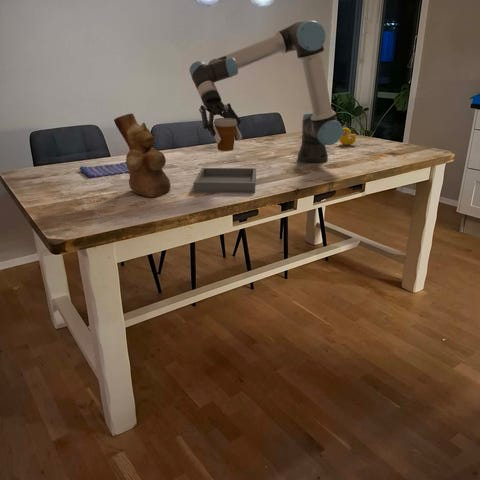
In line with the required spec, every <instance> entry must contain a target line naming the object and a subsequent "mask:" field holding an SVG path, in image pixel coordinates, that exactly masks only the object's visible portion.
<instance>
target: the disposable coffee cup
mask: <svg viewBox="0 0 480 480" xmlns="http://www.w3.org/2000/svg"><path fill="white" fill-rule="evenodd" d="M236 125H237V121H236V119H233V118H224V117H219V118H214V120H213V126H215V127H216V129H217V131H218V133H219V136H220V138H221V140H220V142H219V144H217V143H216V146H217V150H218V151H220V152H232V151H234V147H235V140H236V139H235V138H236V135H235V131H236Z"/></svg>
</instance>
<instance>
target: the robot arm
mask: <svg viewBox="0 0 480 480" xmlns="http://www.w3.org/2000/svg"><path fill="white" fill-rule="evenodd" d="M325 41H326V30H325V28H324V27H323V25H322V24H321V23H319V22H318V21H315V20H312V19H311V20H310V19H309V20H303V21H298V22H295V23H293V24H291V25H289V26H287V27H284V28H283V29H281V30H279V31H276V32H275V34H274V35H272V36H269V37H268V38H265V39H263V40H260V41H258V42H256V43H253V44H251V45H248V46H245V47H243V48H241V49H238V50H235V51H232V52H230V53H228V54H225V55H223V56H220V57H218V58H213V59H211V60H210V61H209V62H208V63H207V64H206V63H205V62H204V61H201V60H197V61H195V62H193V63H192V64H191V65H190V67H189V70H188V71H189V74H190V76H191V80H192V82H193V84H194V86H195V88H196V90H197V93H198V95H199V97H200V99H201V102H202V104H203V105H200V107H199V110H198V111H199V113H200V115H201V121H202V126H203V129H204V130H207V131H208V132H210V134H211V136H212V137H214V140H215V143H216V145H217V144H219V142H220V140H221V138H220V136H219V133H218V131H217V129H216V127H215V125H214V121H215V116H220V118H233V119H236V121H237V125H236V131H235V138H236V141H238V142H240V141H241V140H242V138H243V135H242V133H241V128H240V123H241V122H242V120H241V119H240V118H239V116H238V114H237V113H236V112H235V111H234V110H233V109H234V108H232V105H231V103H229V102H228V103H227V104H224V103H223V101H222V97H221V95H220V93H219V91H218V89H217V86H216V85H215V83H217V82H219V81H222V80H226V79H229V78H233V77H235V76H237V75H238V74H239V70H240V69H242V68H246V67H248V66H250V65H253V64H255V63H258V62H260V61H262V60H266V59H268V58H271V57H273V56H275V55H277V54H280V53H281V54H286V53H289V52H294V51H296V55H297V56H296V57H297V58H298V59H299V60H300V61H301V62H302V67H303V72H304V77H305V81H306V86H307V92H308V96H309V101H310V105H311V110H312V113H304V114H303V115H302V125H301V128H302V130H301V145H300V148H299V151H298V153H297V161H299V162H303V163H312V164H313V163H316V164H319V163H324V162H328V158H329V157H328V151H327V147H326V146H332V145H334V144H336V143H337V142H339V141H340V137H341V136H342V132H343V129H342V128H343V126H342V123H340V121H339V120H338V117H337V113H336V111H334V110H333V109H332V104H331V100H330V94H329V89H328V83H327V78H326V72H325V68H324V62H323V57H322V56H323V54H324V52H325V47H324V44H325ZM207 112H208V115H209V116H207Z"/></svg>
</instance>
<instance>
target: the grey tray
mask: <svg viewBox="0 0 480 480" xmlns="http://www.w3.org/2000/svg"><path fill="white" fill-rule="evenodd" d="M256 183H257V168H255V167H201V168H200V170H199V173H198V174H197V176H196V178H195V179H194V181H193V189H194V190H193V191H194V193H210V194H211V193H212V194H213V193H215V194H216V193H217V194H218V193H220V194H221V193H225V194H226V193H227V194H231V193H233V194H234V193H235V194H240V193H241V194H246V193H247V194H255V193H256Z"/></svg>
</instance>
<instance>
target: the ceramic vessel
mask: <svg viewBox="0 0 480 480" xmlns="http://www.w3.org/2000/svg"><path fill="white" fill-rule="evenodd" d="M113 122H114V125H115V126H116V129H118V131H119V133H120V135H121V137H123V139H124V141H125V143H126V145H127V146H128V149H129V151H128V153H127V154H126V158H125V162H126V165H127V168H128V170H129V173H128V174H129V180H128V185H129V188H130V189H131V190H132V191H133V192H134V194H136V195H138V196H143V197H149V198H156V197H159V196H162V195H165V194H167V193H169V192H170V191H171V190H170V189H171V187H172V186H171V181H170V179H169V177H168V176H167V174H166V173H165V171H164V170H163V168H164V167H165V166H166V157H165V154H164V153H163V152H162V151H159V150H156V148H155V147H154V139H155V138H154V136H153V135H152V133H151V131H150V129H149V128H148V127H147V125H146V123H145V122H142V123H141V124H139V123H138V121H137V118H135V115H134V113H132V112H131V113H126V114H123V115H121V116H117V117H116V118H114V119H113Z"/></svg>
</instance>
